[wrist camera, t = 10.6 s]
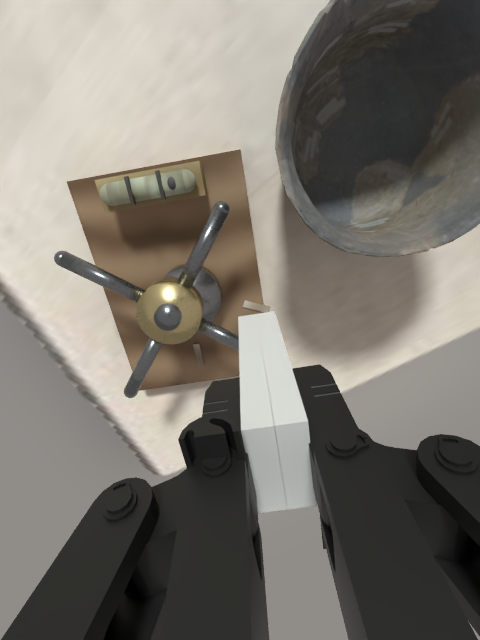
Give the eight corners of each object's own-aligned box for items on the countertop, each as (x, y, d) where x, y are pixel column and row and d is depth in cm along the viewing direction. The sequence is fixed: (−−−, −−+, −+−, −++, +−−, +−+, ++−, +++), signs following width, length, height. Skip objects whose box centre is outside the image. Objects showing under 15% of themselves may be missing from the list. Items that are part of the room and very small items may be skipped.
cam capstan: (57, 324, 39) (10, 362, 31) (125, 138, 32) (86, 124, 23) (229, 399, 44) (228, 450, 36) (324, 253, 36) (350, 275, 28)
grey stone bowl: (278, 18, 30) (315, -118, 16) (458, 53, 31) (635, -46, 18) (249, 217, 37) (257, 240, 23) (397, 240, 38) (489, 273, 24)
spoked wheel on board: (75, 181, 35) (38, 182, 29) (247, 149, 34) (250, 142, 28) (142, 381, 45) (127, 417, 39) (277, 361, 44) (284, 394, 38)
